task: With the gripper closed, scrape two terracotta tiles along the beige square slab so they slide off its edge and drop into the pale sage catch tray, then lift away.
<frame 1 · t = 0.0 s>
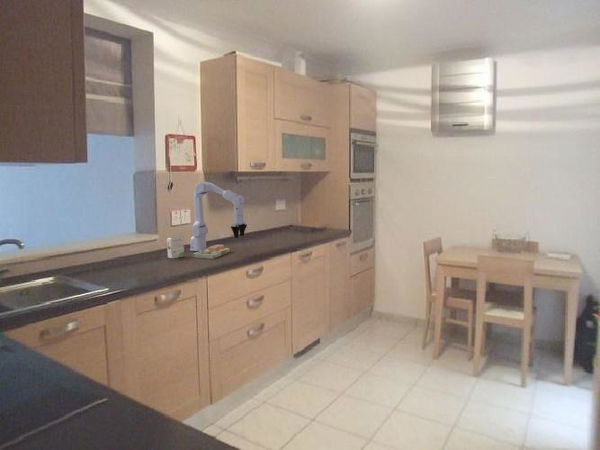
hand: (239, 236, 276), 10 cm above the countertop, fingers open, 7 cm apart
beige square slab: (216, 253, 276), on the countertop
tile front: (213, 250, 273), point 2 cm above the countertop, touching beige square slab
ink box: (176, 257, 265), on the countertop
tray: (207, 256, 266), on the countertop
tile rear: (218, 248, 279), point 2 cm above the countertop, touching beige square slab
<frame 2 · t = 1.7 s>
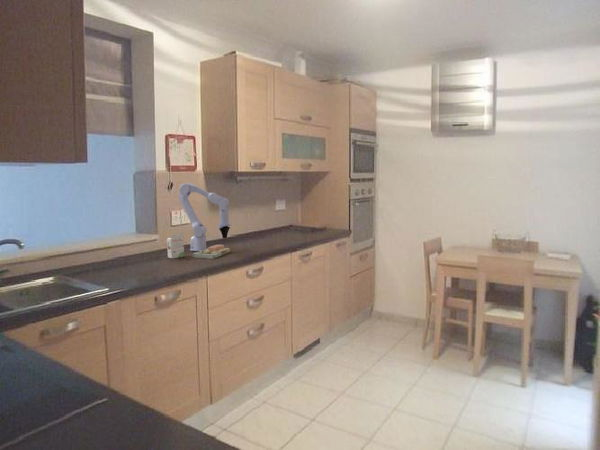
hand: (224, 238, 286), 8 cm above the countertop, fingers closed
nothing on the countertop moved.
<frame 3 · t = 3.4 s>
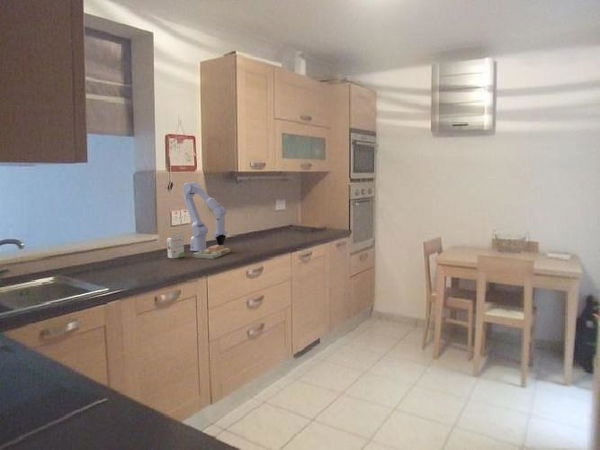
hand: (220, 246, 281), 3 cm above the countertop, fingers closed
nothing on the countertop moved.
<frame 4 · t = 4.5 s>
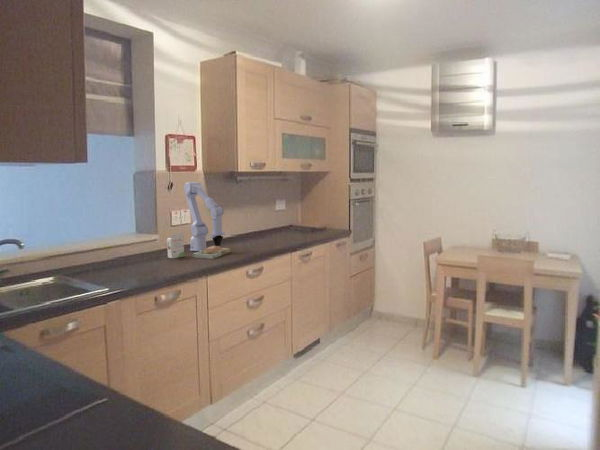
hand: (217, 247, 278), 3 cm above the countertop, fingers closed
tile front: (210, 251, 270), point 2 cm above the countertop, touching beige square slab, tile rear
tile rear: (215, 249, 274), point 2 cm above the countertop, touching beige square slab, gripper, tile front
everything else where it was.
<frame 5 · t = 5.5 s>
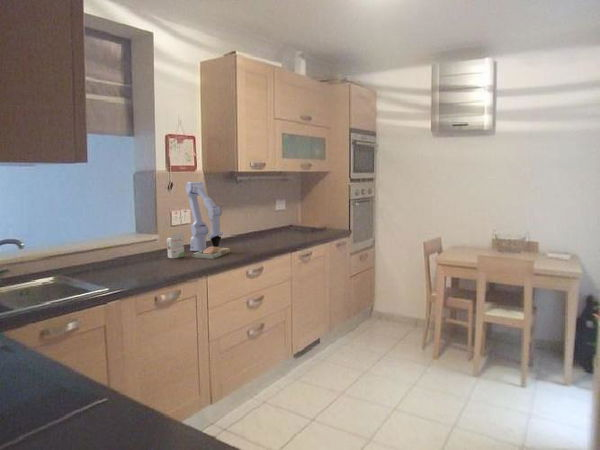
hand: (215, 248, 275), 3 cm above the countertop, fingers closed
tile front: (209, 253, 268), point 2 cm above the countertop, tilted 24°, touching tray
tile rear: (213, 250, 272), point 3 cm above the countertop, touching gripper
everything else where it was.
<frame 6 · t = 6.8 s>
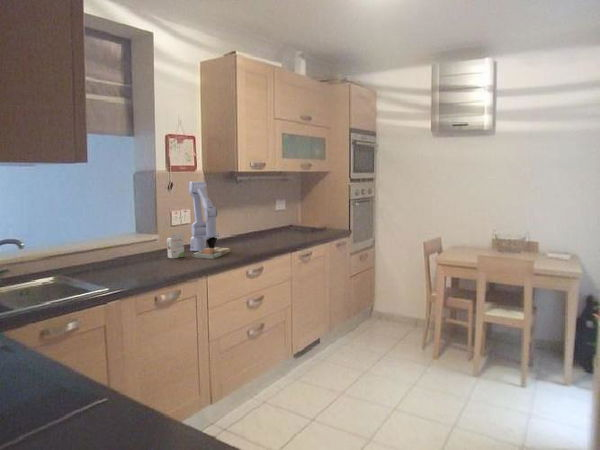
hand: (211, 249, 271), 3 cm above the countertop, fingers closed
tile front: (207, 255, 266), resting on tray, touching tile rear
tile rear: (208, 251, 267), point 2 cm above the countertop, touching gripper, tile front
everything else where it was.
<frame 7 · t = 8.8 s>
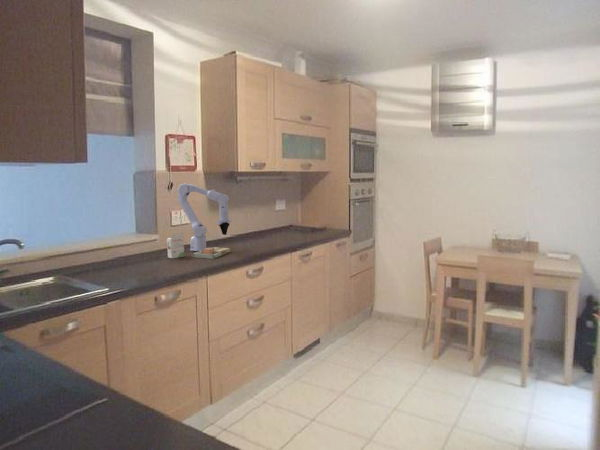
hand: (224, 234, 285), 10 cm above the countertop, fingers closed
tile rear: (208, 251, 267), point 2 cm above the countertop, touching tile front
everything else where it was.
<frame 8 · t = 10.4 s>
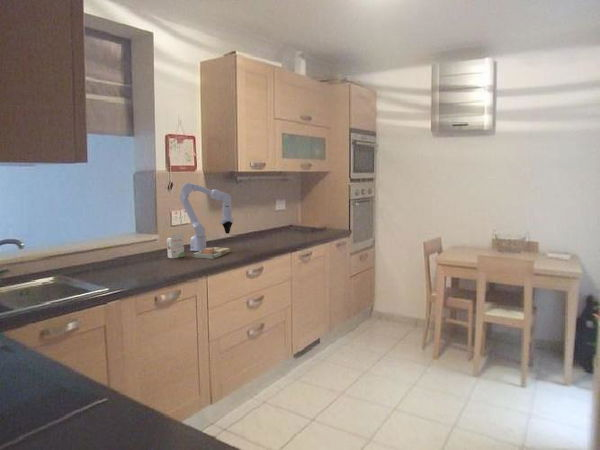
hand: (227, 233, 289), 10 cm above the countertop, fingers closed
nothing on the countertop moved.
at the end: tile front inside the target area on the tray (0.2 cm from its centre), point 0.5 cm above the tray's base; tile rear inside the target area on the tray (2.2 cm from its centre), point 2.5 cm above the tray's base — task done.
